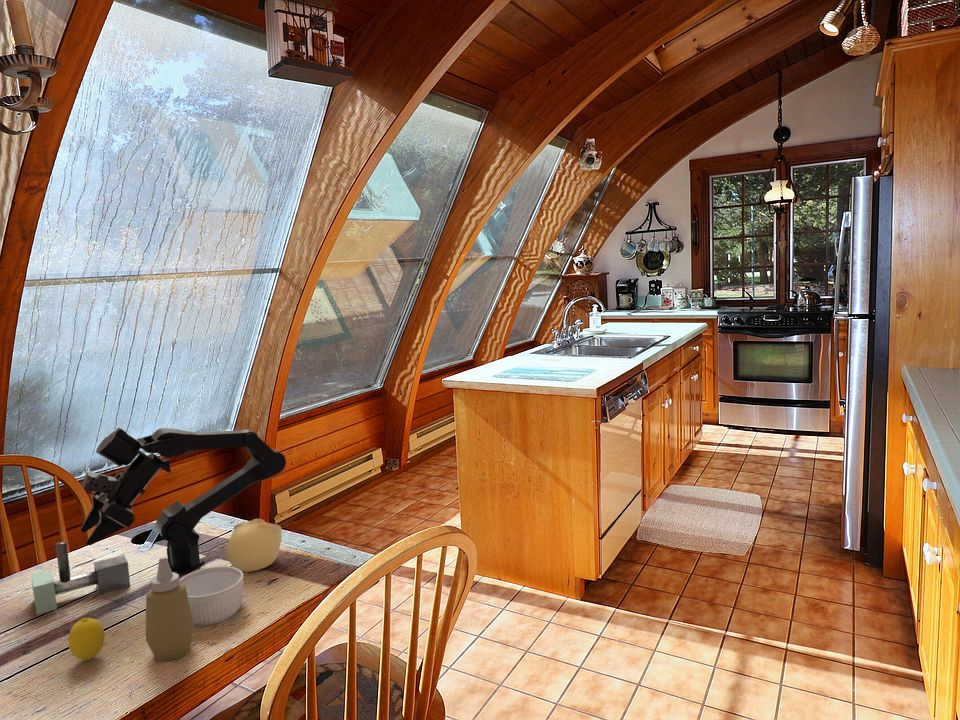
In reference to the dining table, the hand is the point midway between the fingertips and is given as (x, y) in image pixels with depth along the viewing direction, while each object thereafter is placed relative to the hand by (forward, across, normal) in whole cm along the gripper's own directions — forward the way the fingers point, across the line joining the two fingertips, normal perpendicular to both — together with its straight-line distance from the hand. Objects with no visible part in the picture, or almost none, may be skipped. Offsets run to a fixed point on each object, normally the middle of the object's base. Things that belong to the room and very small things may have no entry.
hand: (84, 537), depth 144 cm
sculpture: (-14, +10, +32) cm, 37 cm away
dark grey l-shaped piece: (+10, 0, +5) cm, 11 cm away
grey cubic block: (+6, 0, +12) cm, 13 cm away
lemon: (+12, +30, +6) cm, 33 cm away
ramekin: (-4, +26, +22) cm, 35 cm away
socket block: (+15, 0, +3) cm, 15 cm away
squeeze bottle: (+3, +37, +15) cm, 40 cm away
